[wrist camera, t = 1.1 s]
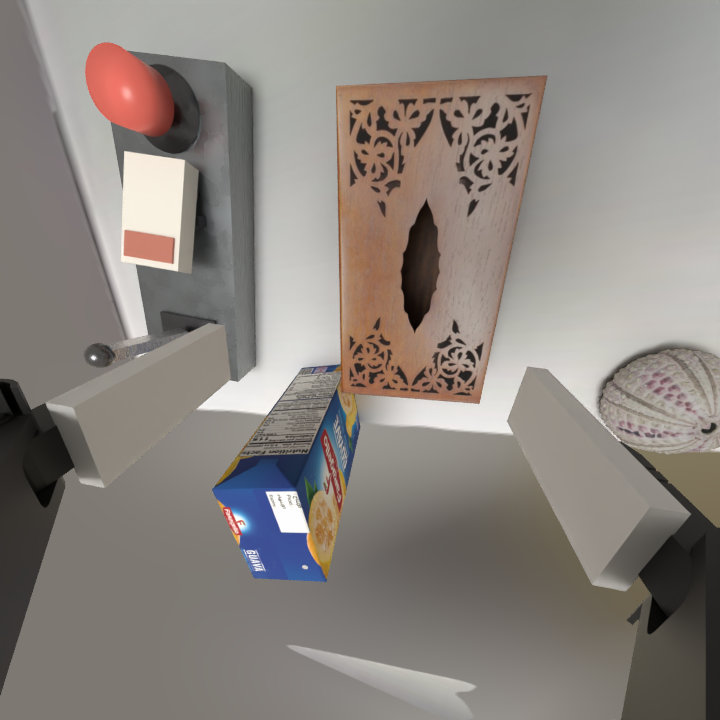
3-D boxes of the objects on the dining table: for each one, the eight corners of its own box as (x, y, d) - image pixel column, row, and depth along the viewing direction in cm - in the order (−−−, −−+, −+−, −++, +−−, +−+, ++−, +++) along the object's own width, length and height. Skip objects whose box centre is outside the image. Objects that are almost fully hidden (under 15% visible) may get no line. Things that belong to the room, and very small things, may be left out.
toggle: (176, 322, 35) (75, 343, 27) (189, 327, 35) (88, 351, 26) (179, 340, 36) (81, 366, 28) (191, 346, 36) (95, 374, 28)
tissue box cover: (461, 363, 39) (479, 403, 30) (355, 356, 41) (341, 392, 32) (501, 125, 29) (547, 75, 20) (356, 129, 30) (336, 85, 21)
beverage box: (347, 363, 41) (295, 487, 21) (360, 427, 45) (326, 582, 25) (302, 367, 42) (211, 488, 22) (318, 429, 46) (254, 578, 26)
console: (142, 74, 31) (84, 39, 25) (251, 88, 30) (216, 55, 24) (179, 351, 44) (146, 368, 38) (255, 365, 43) (233, 386, 38)
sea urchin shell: (675, 442, 39) (737, 490, 32) (572, 423, 40) (609, 465, 33) (742, 353, 34) (836, 386, 26) (621, 333, 35) (679, 360, 27)
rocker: (142, 162, 29) (121, 149, 27) (198, 170, 29) (182, 158, 27) (138, 264, 31) (118, 260, 29) (191, 274, 30) (176, 270, 28)
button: (114, 60, 24) (77, 38, 22) (170, 67, 24) (140, 46, 21) (126, 133, 26) (94, 121, 24) (177, 140, 26) (151, 130, 23)
